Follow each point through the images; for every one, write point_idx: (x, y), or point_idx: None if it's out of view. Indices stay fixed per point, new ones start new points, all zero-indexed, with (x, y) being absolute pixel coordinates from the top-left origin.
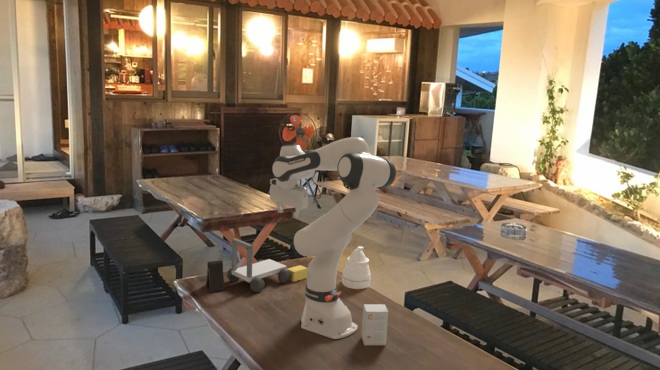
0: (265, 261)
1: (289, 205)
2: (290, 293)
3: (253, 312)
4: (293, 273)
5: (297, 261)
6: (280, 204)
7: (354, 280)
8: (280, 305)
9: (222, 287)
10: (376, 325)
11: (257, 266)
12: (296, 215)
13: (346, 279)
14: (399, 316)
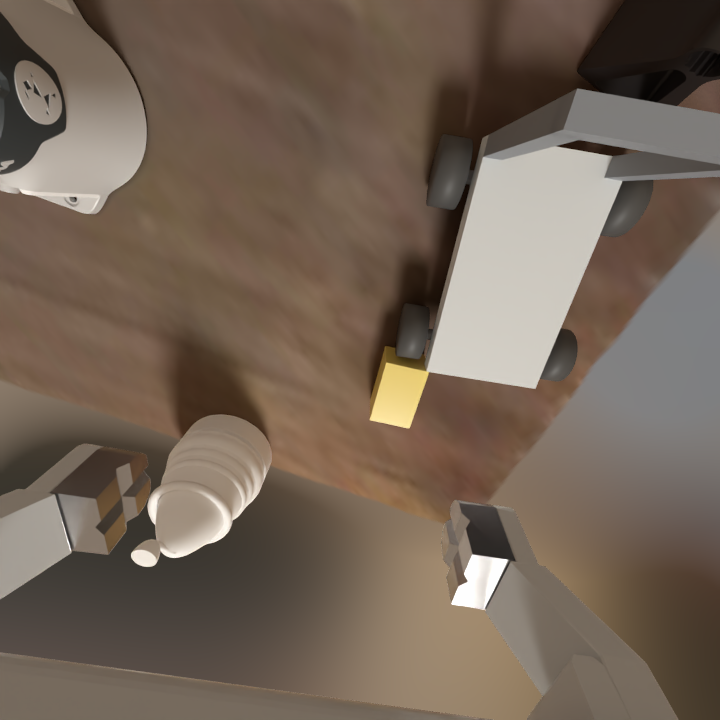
0: (534, 356)
1: (60, 661)
2: (328, 254)
3: None
4: (389, 360)
5: (480, 486)
6: (547, 683)
7: (192, 434)
8: (279, 126)
9: (594, 59)
10: None
11: (534, 287)
12: (62, 476)
13: (226, 432)
14: None
